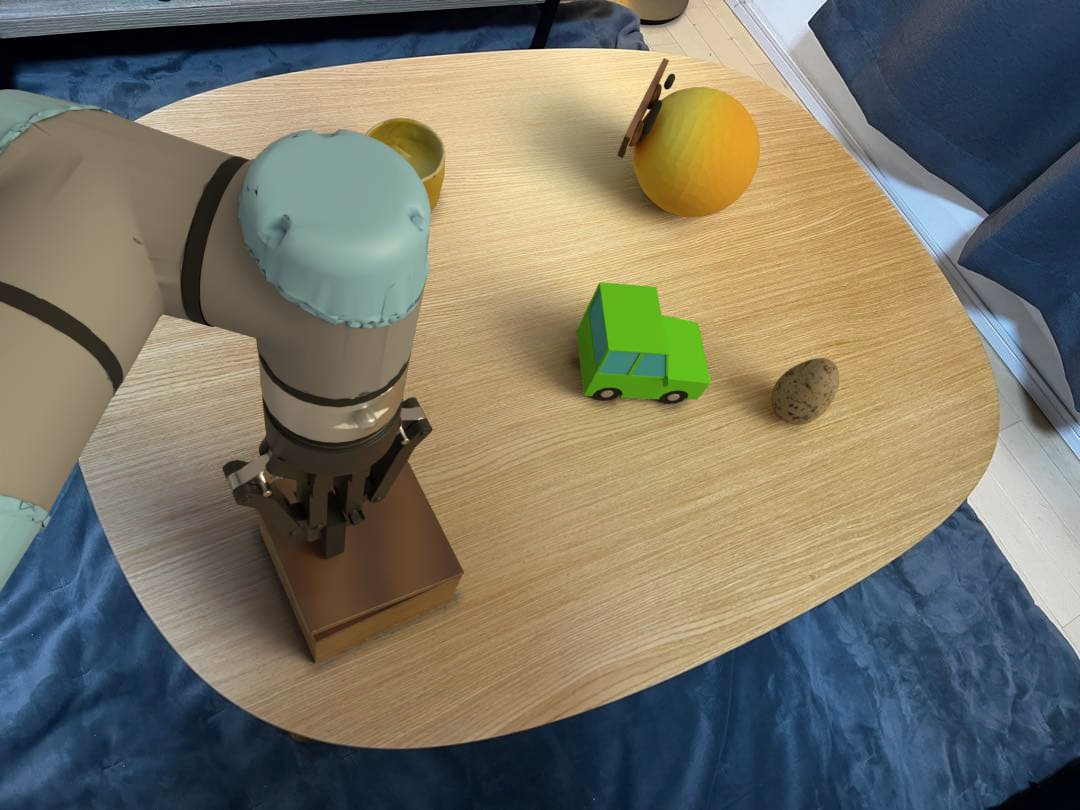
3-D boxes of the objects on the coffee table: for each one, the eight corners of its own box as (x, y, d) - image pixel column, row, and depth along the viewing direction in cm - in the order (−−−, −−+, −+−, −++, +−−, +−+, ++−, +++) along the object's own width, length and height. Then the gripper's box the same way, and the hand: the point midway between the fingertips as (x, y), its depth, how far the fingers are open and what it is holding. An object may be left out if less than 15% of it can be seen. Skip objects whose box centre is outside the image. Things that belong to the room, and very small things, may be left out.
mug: (413, 135, 100) (422, 93, 91) (455, 210, 100) (469, 177, 91) (319, 176, 97) (318, 138, 87) (363, 254, 97) (367, 224, 87)
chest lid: (309, 636, 62) (311, 633, 62) (247, 491, 66) (249, 486, 66) (461, 576, 70) (464, 572, 70) (398, 450, 74) (400, 445, 74)
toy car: (698, 415, 92) (737, 367, 84) (581, 409, 89) (610, 359, 81) (683, 337, 97) (719, 284, 89) (572, 329, 94) (598, 273, 86)
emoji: (632, 132, 113) (673, 35, 100) (740, 182, 113) (794, 92, 100) (594, 208, 104) (633, 114, 91) (710, 263, 104) (766, 176, 91)
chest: (315, 663, 71) (316, 643, 65) (260, 533, 75) (257, 503, 69) (450, 600, 76) (462, 576, 70) (392, 481, 80) (398, 450, 74)
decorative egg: (815, 434, 95) (865, 390, 86) (768, 436, 93) (814, 390, 85) (800, 388, 98) (846, 341, 89) (754, 389, 96) (797, 340, 87)
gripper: (238, 489, 42) (262, 620, 62) (472, 403, 47) (425, 549, 67) (187, 368, 44) (226, 531, 64) (414, 300, 50) (385, 470, 70)
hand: (328, 540), depth 66 cm, fingers closed
